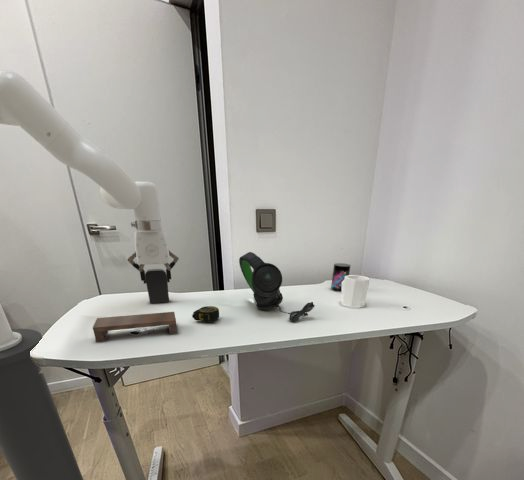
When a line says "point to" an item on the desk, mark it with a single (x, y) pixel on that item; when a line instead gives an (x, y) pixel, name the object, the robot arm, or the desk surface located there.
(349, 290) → the mug
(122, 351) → the desk surface
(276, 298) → the headset
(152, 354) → the desk surface
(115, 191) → the robot arm
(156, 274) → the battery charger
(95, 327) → the shelf
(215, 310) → the tape measure
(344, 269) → the supplement container
